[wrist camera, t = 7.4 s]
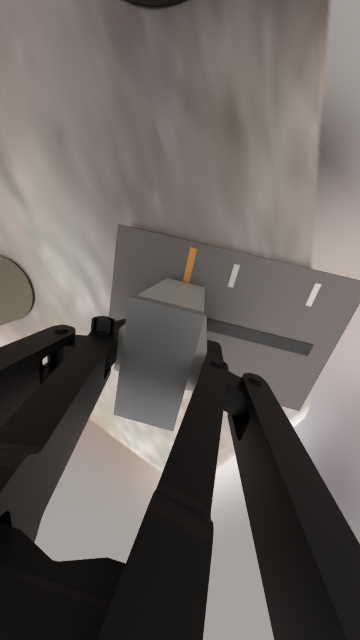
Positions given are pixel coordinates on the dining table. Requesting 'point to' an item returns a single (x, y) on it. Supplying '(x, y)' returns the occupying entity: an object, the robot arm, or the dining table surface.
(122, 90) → the dining table surface
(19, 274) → the travel mug
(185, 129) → the dining table surface
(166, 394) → the fader
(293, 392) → the console
